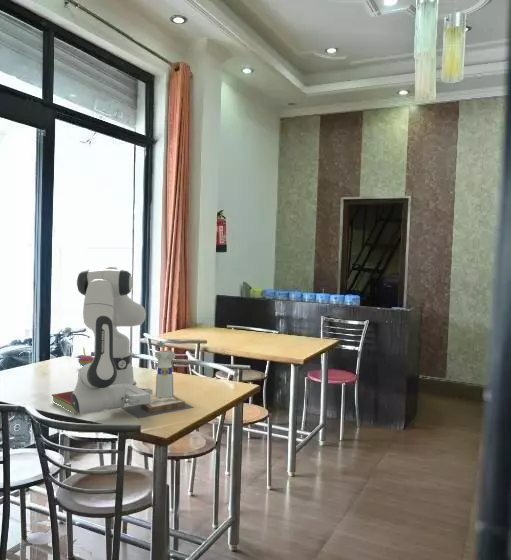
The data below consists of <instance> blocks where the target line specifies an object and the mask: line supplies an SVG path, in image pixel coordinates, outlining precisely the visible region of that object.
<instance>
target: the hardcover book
mask: <svg viewBox="0 0 511 560" xmlns="http://www.w3.org/2000/svg"><path fill="white" fill-rule="evenodd" d="M73 391H74V390H70V391H64V392H59V393H54V394H53V393H52V394H51V396H52V402H53V401H54V402H55V403H57V404H59V405H61V406H62V407H64V408H65V409H67V410H69V411H71V412H72V413H74V414H73V415H77V414H76V413H78V412H77V411H75V409H74V408H73V406H72V403H71V394H72V393H73ZM65 409H64V410H65ZM67 410H66V411H67ZM69 411H68V412H69ZM71 412H70V413H71ZM72 413H71V414H72Z"/></svg>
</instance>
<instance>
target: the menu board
mask: <svg viewBox="0 0 511 560" xmlns="http://www.w3.org/2000/svg"><path fill="white" fill-rule="evenodd" d="M139 407H140V408H142V409H144V410H145V411H147V412H149V413H154V412H160V411H165V410H170V409H176V408H181V407H185V401H184V400H182V399H180V398H177V397H175V396H174V395H173V396H172V397H166V398H160V397H159V398H156V399H150V403H148V404H142V405H139Z"/></svg>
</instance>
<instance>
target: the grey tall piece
mask: <svg viewBox="0 0 511 560" xmlns="http://www.w3.org/2000/svg"><path fill="white" fill-rule="evenodd" d="M164 344H166V343H164V342H163V341H162V340H160V342H157V345H158V349H160V348H164ZM155 358H156V359H157V361H158V362H157V365H156V367H157V374H156V379H155V380H156V384H155V397H156V398H159V399H160V398H166V397H172V396H173V397H174V375H173V367H174V365H173V362H172V360H174V359H175V358H176V354H175V352H174V351H173V350H158V351H156V354H155Z"/></svg>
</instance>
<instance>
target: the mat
mask: <svg viewBox="0 0 511 560" xmlns="http://www.w3.org/2000/svg"><path fill="white" fill-rule="evenodd" d="M193 408H195V407H194V406H193V405H190V404H188V403H185V407H181V408H176V409H170V410H165V411H160V412H154V413H149V412H147V411H145V410H144V409H142V408H140V407H139V405H130V406H124V407H122V408H121V410H124V411H125V412H127V413H128V414H130V415H132V416H134V417H135V418H137V419H143V418H147V417H151V416H157V415H158V416H159V415H163V414H169V413H172V412H173V413H174V412H178V411H184V410H188V409H193Z"/></svg>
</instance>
